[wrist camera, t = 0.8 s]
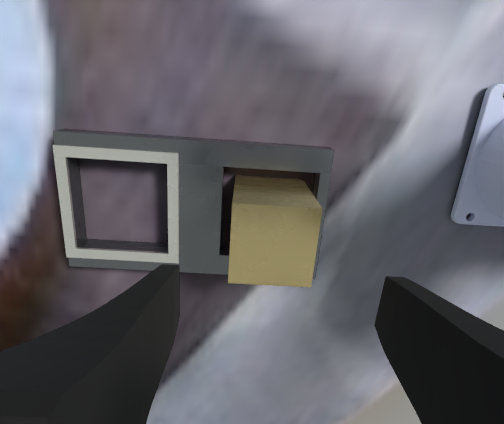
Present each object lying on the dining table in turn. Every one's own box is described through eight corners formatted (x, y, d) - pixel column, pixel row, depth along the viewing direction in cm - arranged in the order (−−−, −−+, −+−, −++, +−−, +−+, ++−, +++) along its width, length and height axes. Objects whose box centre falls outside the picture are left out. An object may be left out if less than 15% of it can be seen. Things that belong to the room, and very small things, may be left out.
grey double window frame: (329, 147, 19) (335, 150, 18) (311, 269, 22) (315, 281, 21) (64, 128, 19) (50, 131, 17) (78, 257, 21) (67, 267, 20)
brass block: (302, 179, 20) (322, 208, 15) (295, 240, 21) (311, 287, 16) (235, 174, 20) (232, 203, 15) (232, 236, 21) (228, 282, 16)
